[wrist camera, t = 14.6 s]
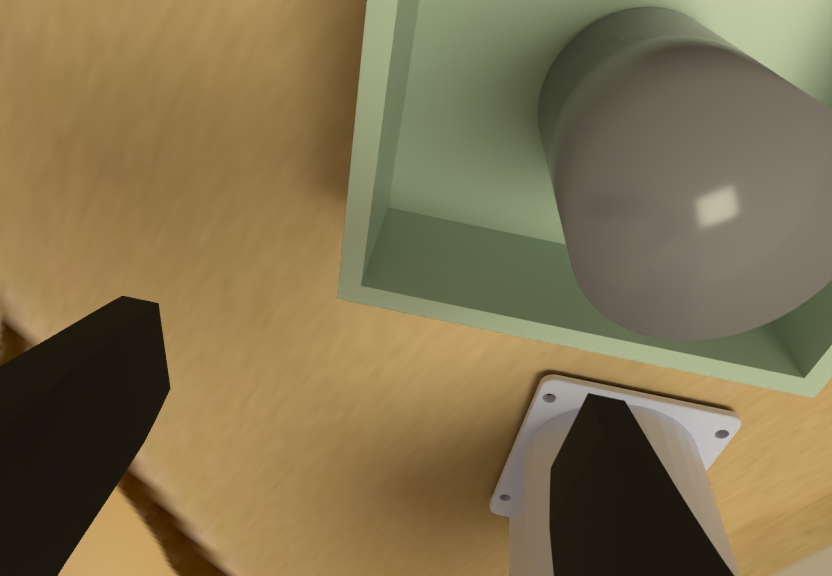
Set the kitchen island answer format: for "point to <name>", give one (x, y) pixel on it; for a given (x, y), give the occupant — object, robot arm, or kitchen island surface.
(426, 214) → the tote
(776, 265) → the cylinder
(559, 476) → the robot arm
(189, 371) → the kitchen island surface
